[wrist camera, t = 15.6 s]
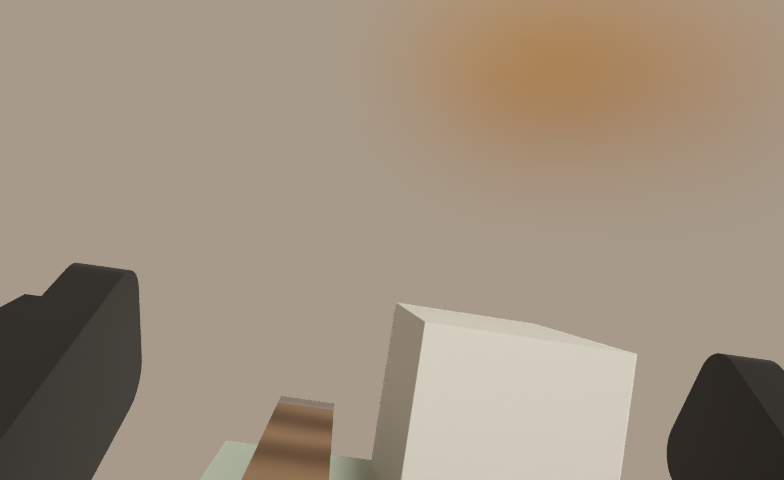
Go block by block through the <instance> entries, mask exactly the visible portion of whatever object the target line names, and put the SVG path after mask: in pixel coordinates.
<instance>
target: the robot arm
mask: <svg viewBox="0 0 784 480" xmlns="http://www.w3.org/2000/svg"><path fill="white" fill-rule="evenodd" d="M141 365H142V355H141V331H140V308H139V287H138V279H137V276H136V274H135V273H134V272H133V271H131V270H123V269H117V268H110V267H103V266H95V265H88V264H81V263H73V264H72V265H70V266H69V267H68V268H67V269H66V270H65V271H64V272H63V273H62V274H61V275H60V276H59V278H58V279H57V280H56V281H55V282H54V283H53V284H52V285H51V286H50V287H49V288H48V290H47V291H46V292H45V293H44V294H43V295H42V296H35V295H27V294H24V295H23V296H21V297H19V298H17V299H15V300H13V301H11V302H9V303H7V304H6V305H4V306H2V307H0V480H91V479H92V478H93V476H94V474H95V472H96V470H97V468H98V466H99V465H100V463H101V461H102V459H103V457H104V455H105V454H106V452H107V450H108V448H109V446H110V444H111V442H112V441H113V439H114V437H115V435H116V433H117V431H118V429H119V428H120V426H121V424H122V422H123V420H124V418H125V416H126V414H127V413H128V411H129V409H130V407H131V405H132V403H133V400H134V398H135V395H136V392H137V388H138V384H139V379H140V374H141ZM667 463H668V469H669V473H670V476H671V478H672V480H784V370H783V369H782V368H781V367H780V366H779V365H778V364H776V363H775V362H773V361H770V360H763V359H755V358H748V357H741V356H733V355H726V354H719V353H718V354H714V355H712V356H710V357H709V358H708V359H707V360H706V361H705V363H704V364H703V366H702V368H701V370H700V372H699V374H698V376H697V379H696V380H695V382H694V384H693V387H692V389H691V391H690V393H689V395H688V397H687V399H686V401H685V403H684V405H683V407H682V409H681V411H680V413H679V415H678V417H677V419H676V421H675V424H674V426H673V428H672V430H671V432H670V435H669V439H668V444H667Z"/></svg>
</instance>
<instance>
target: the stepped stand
mask: <svg viewBox="0 0 784 480" xmlns="http://www.w3.org/2000/svg"><path fill="white" fill-rule="evenodd" d="M636 359H637V354H635V353H631V352H628V351H625V350H621V349H618V348H615V347H611V346H608V345H604V344H601V343H598V342H594V341H591V340H587V339H584V338H581V337H577V336H574V335H571V334H567V333H564V332H561V331H557V330H554V329H550V328H547V327H544V326H540V325H537V324H533V323H526V322H520V321H512V320H507V319H500V318H494V317H488V316H481V315H475V314H474V315H473V314H468V313H461V312H454V311H449V310H442V309H436V308H429V307H422V306H416V305H409V304H403V303H396V306H395V313H394V319H393V326H392V333H391V338H390V345H389V351H388V358H387V364H386V370H385V377H384V383H383V390H382V396H381V403H380V410H379V416H378V422H377V428H376V435H375V441H374V447H373V454H372V460H366V459H359V458H352V457H344V456H337V455H331V457H330V473H329V480H620V477H621V470H622V462H623V454H624V447H625V439H626V433H627V425H628V418H629V410H630V403H631V396H632V388H633V381H634V374H635V366H636ZM257 446H258V445H257V444H249V443H242V442H235V441H226V442H225V443H224V445H223V446H222V448H221V449H220V451H219V452H218V454H217V455H216V457H215V458H214V460H213V461H212V463H211V464H210V466H209V467H208V469H207V470H206V472H205V473H204V475H203V476H202V478H201V479H200V480H242V478H243V475H244V473H245V471H246V469H247V467H248V465H249V463H250V461H251V459H252V456H253V454H254V452H255V450H256V448H257Z"/></svg>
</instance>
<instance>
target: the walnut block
mask: <svg viewBox="0 0 784 480" xmlns="http://www.w3.org/2000/svg"><path fill="white" fill-rule="evenodd" d="M333 409H334V404H333V403H326V402H319V401H312V400H305V399H298V398H291V397H284V396H281V397H280V400H279V402H278V404H277V406H276V408H275V410H274V412H273V414H272V416H271V419H270V421H269V423H268V425H267V427H266V429H265V431H264V433H263V435H262V437H261V440H260V442H259V444H258V446H257V448H256V450H255V452H254V454H253V456H252V459H251V461H250V463H249V465H248V467H247V469H246V471H245V473H244V475H243V478H242V480H329V473H330V457H331V440H332V425H333Z"/></svg>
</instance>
